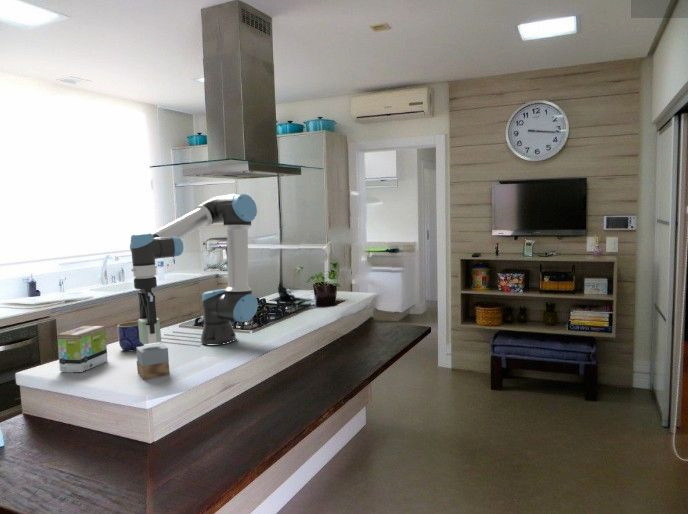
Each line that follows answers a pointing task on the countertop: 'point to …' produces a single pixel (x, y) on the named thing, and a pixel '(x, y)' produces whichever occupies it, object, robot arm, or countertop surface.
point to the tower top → (152, 354)
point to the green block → (143, 331)
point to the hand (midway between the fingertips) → (149, 340)
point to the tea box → (82, 348)
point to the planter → (129, 336)
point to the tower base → (153, 370)
